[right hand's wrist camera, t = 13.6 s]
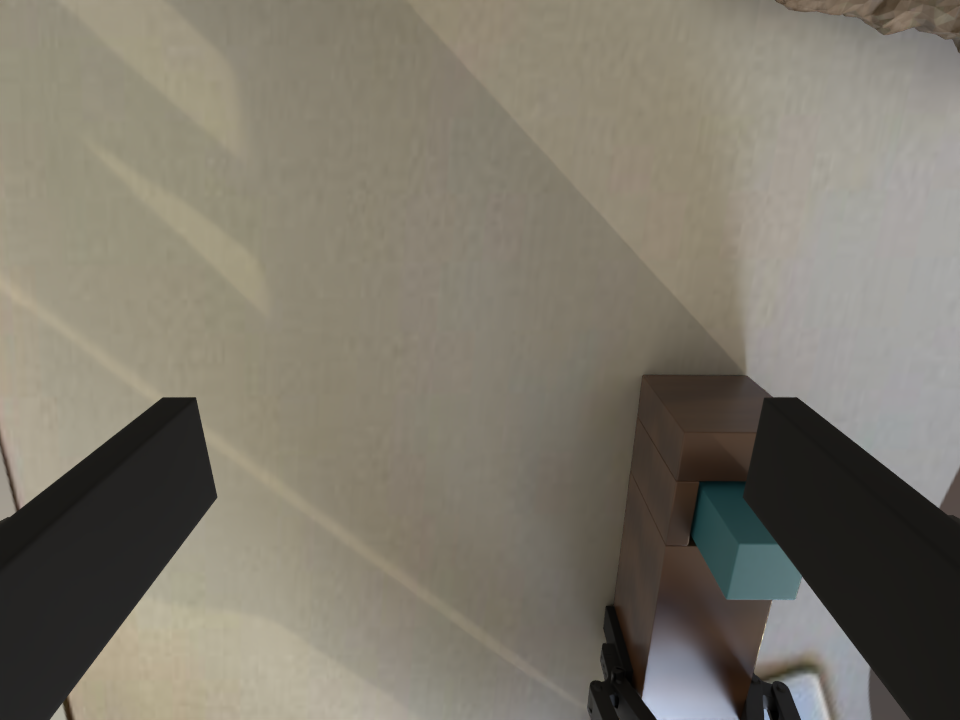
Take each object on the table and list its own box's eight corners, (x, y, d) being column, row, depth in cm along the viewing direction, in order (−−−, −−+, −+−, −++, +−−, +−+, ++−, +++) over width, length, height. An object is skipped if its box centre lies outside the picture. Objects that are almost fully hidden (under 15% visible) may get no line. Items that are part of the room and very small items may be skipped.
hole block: (642, 374, 41) (684, 432, 32) (747, 375, 41) (816, 432, 32) (608, 647, 51) (633, 744, 42) (692, 647, 51) (734, 745, 42)
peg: (658, 422, 42) (738, 543, 29) (709, 422, 42) (812, 544, 29) (652, 466, 44) (725, 600, 31) (701, 466, 44) (795, 600, 31)
